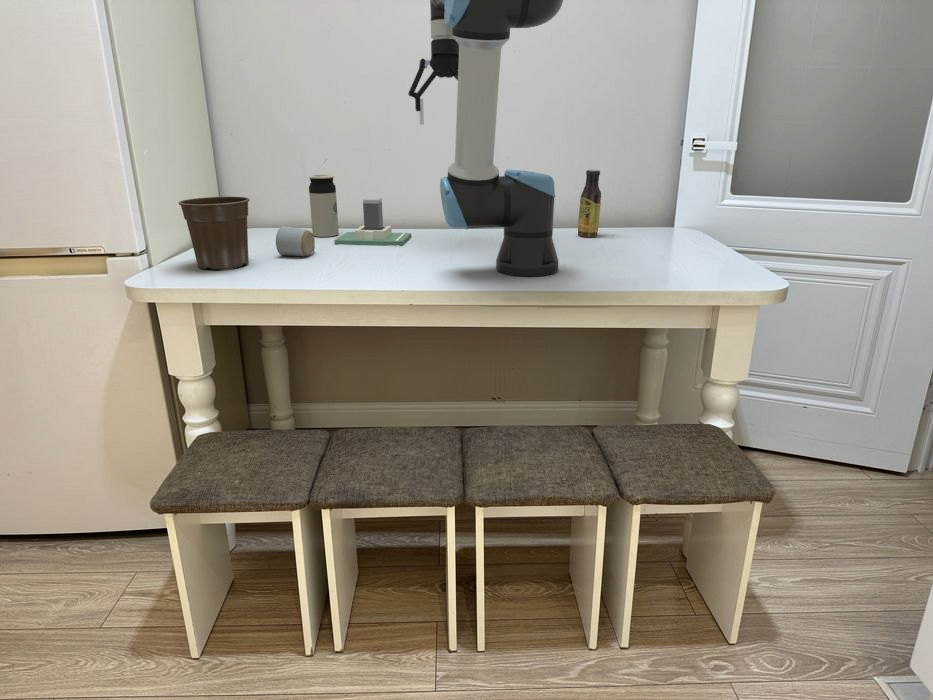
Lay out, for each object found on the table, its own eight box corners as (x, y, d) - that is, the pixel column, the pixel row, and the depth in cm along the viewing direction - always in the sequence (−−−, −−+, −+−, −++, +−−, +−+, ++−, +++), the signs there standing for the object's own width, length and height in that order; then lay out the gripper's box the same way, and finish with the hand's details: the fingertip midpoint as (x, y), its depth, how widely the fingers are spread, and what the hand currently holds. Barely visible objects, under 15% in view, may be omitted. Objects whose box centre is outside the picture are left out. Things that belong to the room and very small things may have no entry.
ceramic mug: (304, 259, 169) (302, 229, 166) (276, 257, 170) (273, 228, 168) (322, 252, 178) (320, 224, 176) (295, 250, 180) (293, 222, 178)
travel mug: (307, 236, 199) (302, 176, 192) (320, 232, 206) (316, 174, 200) (331, 238, 196) (326, 177, 190) (343, 233, 204) (339, 174, 197)
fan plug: (379, 238, 190) (378, 200, 186) (364, 237, 191) (362, 199, 187) (383, 235, 194) (381, 198, 191) (368, 235, 195) (366, 197, 191)
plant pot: (179, 264, 163) (169, 199, 158) (241, 255, 173) (234, 194, 167) (201, 276, 152) (191, 206, 146) (267, 266, 161) (260, 200, 156)
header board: (402, 245, 185) (402, 232, 184) (334, 244, 187) (333, 231, 186) (411, 236, 198) (411, 224, 197) (347, 235, 200) (347, 223, 199)
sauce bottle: (573, 235, 201) (577, 169, 194) (590, 233, 204) (594, 168, 197) (585, 238, 196) (589, 171, 189) (602, 237, 198) (607, 170, 191)
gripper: (487, 42, 177) (487, 124, 184) (396, 40, 173) (399, 124, 180) (494, 38, 170) (493, 123, 177) (399, 36, 166) (402, 124, 173)
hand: (446, 124), depth 178 cm, fingers open, 13 cm apart
